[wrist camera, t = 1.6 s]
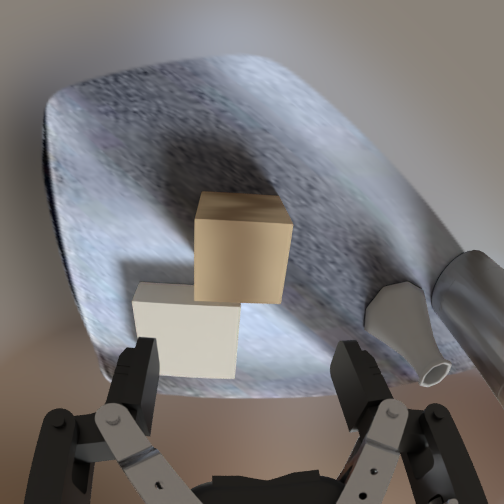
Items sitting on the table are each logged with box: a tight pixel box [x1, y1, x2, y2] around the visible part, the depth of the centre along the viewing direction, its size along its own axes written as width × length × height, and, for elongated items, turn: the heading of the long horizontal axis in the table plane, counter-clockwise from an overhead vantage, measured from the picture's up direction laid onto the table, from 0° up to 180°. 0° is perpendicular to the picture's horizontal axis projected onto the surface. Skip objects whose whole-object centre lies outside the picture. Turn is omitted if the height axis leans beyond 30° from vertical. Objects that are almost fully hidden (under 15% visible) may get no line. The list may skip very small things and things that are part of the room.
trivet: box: [132, 282, 241, 379], centre depth 29 cm, size 9×9×3 cm
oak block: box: [194, 191, 293, 304], centre depth 23 cm, size 6×6×6 cm
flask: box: [364, 281, 452, 387], centre depth 27 cm, size 7×7×10 cm
